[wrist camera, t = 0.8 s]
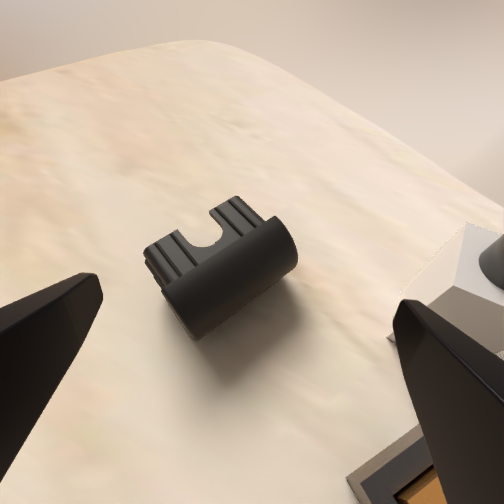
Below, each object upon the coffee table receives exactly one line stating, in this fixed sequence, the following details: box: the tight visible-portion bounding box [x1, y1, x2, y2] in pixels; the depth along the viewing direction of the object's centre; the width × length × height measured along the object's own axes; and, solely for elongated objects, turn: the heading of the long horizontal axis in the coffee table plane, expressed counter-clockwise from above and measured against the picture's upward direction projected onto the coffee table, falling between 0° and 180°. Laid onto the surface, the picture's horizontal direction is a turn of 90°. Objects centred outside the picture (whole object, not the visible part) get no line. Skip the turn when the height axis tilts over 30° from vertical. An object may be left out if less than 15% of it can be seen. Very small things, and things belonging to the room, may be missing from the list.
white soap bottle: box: [386, 222, 504, 353], centre depth 19 cm, size 5×5×13 cm
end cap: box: [143, 196, 298, 341], centre depth 24 cm, size 10×7×7 cm
